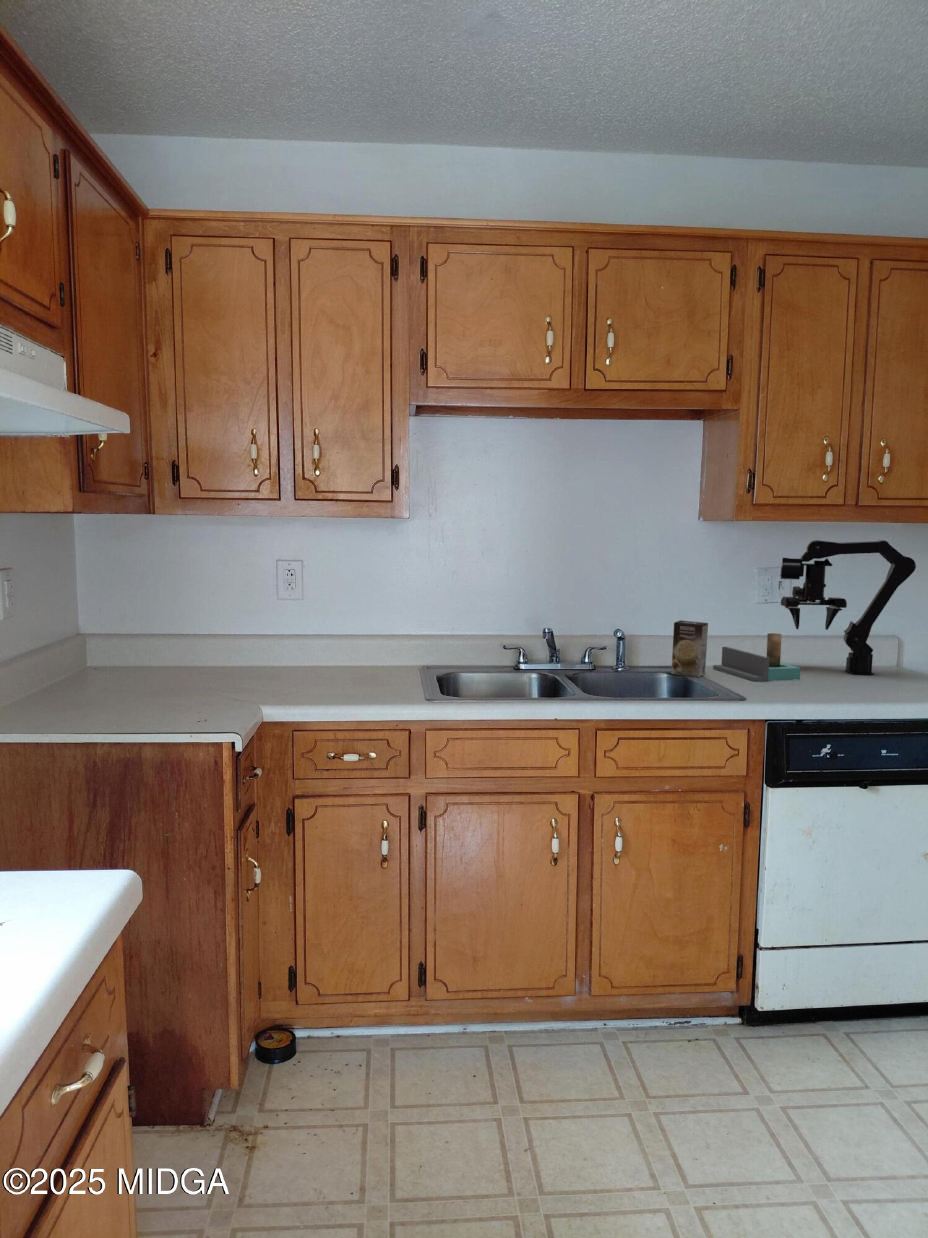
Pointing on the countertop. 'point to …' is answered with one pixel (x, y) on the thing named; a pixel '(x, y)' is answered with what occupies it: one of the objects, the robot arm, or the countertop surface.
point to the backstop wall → (744, 664)
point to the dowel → (774, 649)
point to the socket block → (783, 672)
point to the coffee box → (689, 648)
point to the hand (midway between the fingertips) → (811, 629)
